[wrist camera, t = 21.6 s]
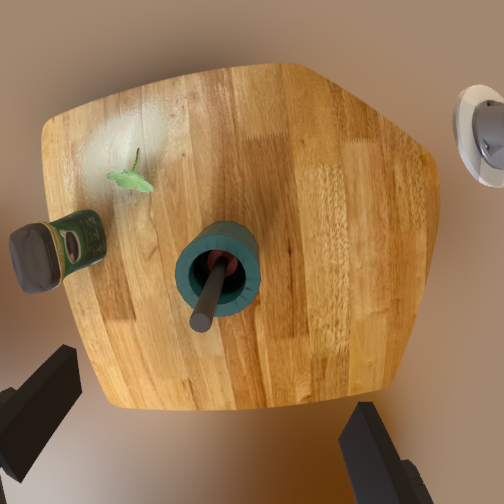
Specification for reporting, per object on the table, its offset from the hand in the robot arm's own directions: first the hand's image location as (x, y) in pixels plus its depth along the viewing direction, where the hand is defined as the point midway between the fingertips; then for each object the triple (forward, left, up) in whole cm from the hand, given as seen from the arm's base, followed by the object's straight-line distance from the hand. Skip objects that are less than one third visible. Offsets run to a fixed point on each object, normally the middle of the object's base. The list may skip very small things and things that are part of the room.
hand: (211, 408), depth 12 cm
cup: (+2, +2, -37) cm, 37 cm away
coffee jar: (+27, +4, -37) cm, 46 cm away
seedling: (+18, -8, -37) cm, 42 cm away
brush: (+2, +2, -36) cm, 36 cm away
